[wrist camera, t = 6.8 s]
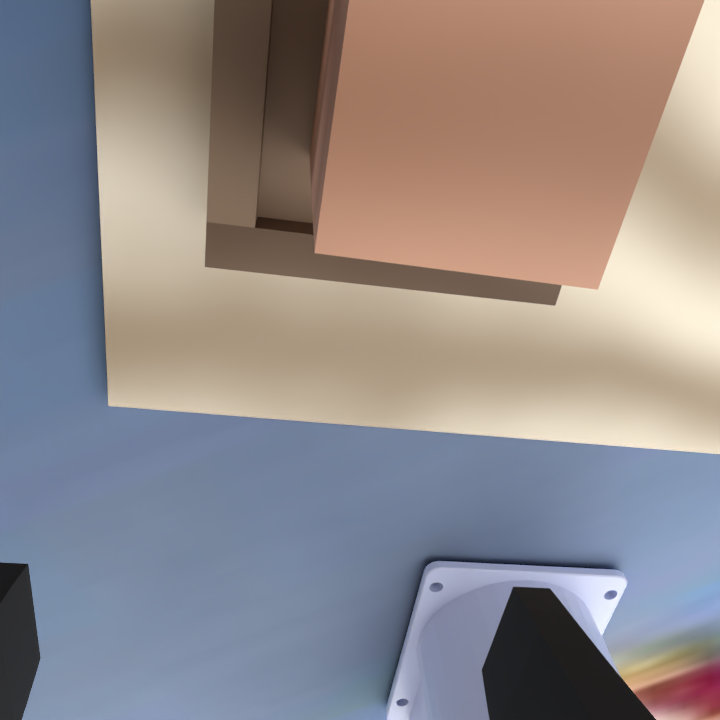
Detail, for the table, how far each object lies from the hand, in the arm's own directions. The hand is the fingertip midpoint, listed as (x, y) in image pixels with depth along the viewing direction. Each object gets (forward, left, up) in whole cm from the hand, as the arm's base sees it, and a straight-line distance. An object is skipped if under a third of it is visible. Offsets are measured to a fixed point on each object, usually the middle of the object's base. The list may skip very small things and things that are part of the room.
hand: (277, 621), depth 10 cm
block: (+7, -2, -7) cm, 11 cm away
